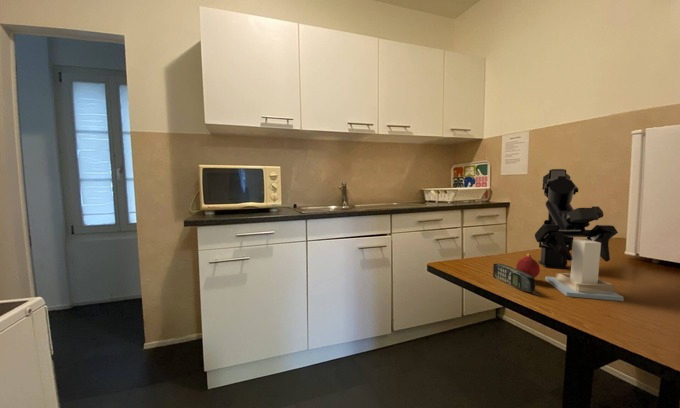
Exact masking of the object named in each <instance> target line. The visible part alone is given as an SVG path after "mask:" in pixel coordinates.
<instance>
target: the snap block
mask: <svg viewBox="0 0 680 408" xmlns="http://www.w3.org/2000/svg"><path fill="white" fill-rule="evenodd" d="M600 250H601V243H600V242H596V241H592V240H588V239H587V238H586V239H584V238H583V239H581V238H580V239H577V238H576V239H574V238H573V244H572V250H571V252H572V253H571V256H572V260H571V261H570V262H571V265H570V273H571V275H570V279H572V280H574V281H576V282H578V283H582V284H598V278H599V270H600V260H601V256H600Z"/></svg>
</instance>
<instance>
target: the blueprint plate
mask: <svg viewBox="0 0 680 408" xmlns="http://www.w3.org/2000/svg"><path fill="white" fill-rule="evenodd" d="M545 281H546V282H548V283H549V284H550V285H551V286H553V287H554V288H555V289H557V290H558V291H559V292H561V293H562V294H563V295H564V296H566V297H572V298H582V299H583V298H584V299H594V300H604V301H605V300H606V301H607V300H608V301H617V302H618V301H619V302H624V298H625V296H622V295H620V294H619V293H617V292H615V291H614V293H596V292H577V291H576V290H574V289H572V288H570V287H568V286H566V285H564V284H562V283H561V282H559V281H557V280H556V276H547V275H546V276H545Z"/></svg>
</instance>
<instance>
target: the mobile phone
mask: <svg viewBox="0 0 680 408" xmlns="http://www.w3.org/2000/svg"><path fill="white" fill-rule="evenodd" d="M492 267H493V269H492V277H493V278H494V279H497V280H499V281H500V282H503V283H504V284H507V285H509V286H511V287H513V288H514V289H516V290H519V291H522V292H526V293H531V294H534V295H536V296H538V297H541V296H542V294H541V293H539V292H538V291H536V279H535V278H534V277H533V276H531V275H529V274H527V273H525V272H523V271H520V270H517V269H516V268H514V267H512V266H510V265H506V264H503V263H493V266H492Z"/></svg>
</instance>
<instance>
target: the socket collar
mask: <svg viewBox="0 0 680 408" xmlns="http://www.w3.org/2000/svg"><path fill="white" fill-rule="evenodd" d="M570 275H571V272H569V273H567V272H565V273H564V272H563V273H562V272H556V273H555V277H556V280H557V281H559V282H561V283H562V284H564V285H566V286H568V287H570V288H572V289H574V290H576V291H577V292H596V293H614V292H615V286H616V285H615V284H612V283H610V282H608V281H606V280H604V279H600V278H599V277H598V284H582V283H578V282H576V281H574V280H572V279H570Z"/></svg>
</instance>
